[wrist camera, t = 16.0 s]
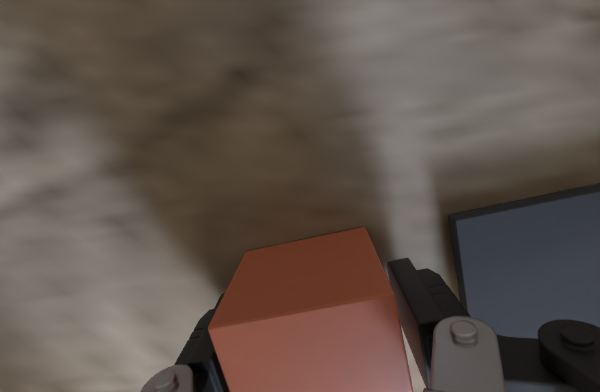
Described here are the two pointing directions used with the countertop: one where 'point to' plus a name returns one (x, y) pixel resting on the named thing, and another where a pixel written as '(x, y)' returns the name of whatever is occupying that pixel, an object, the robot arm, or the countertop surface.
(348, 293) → the terracotta block
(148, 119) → the countertop surface
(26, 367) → the countertop surface
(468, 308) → the sorting mat
